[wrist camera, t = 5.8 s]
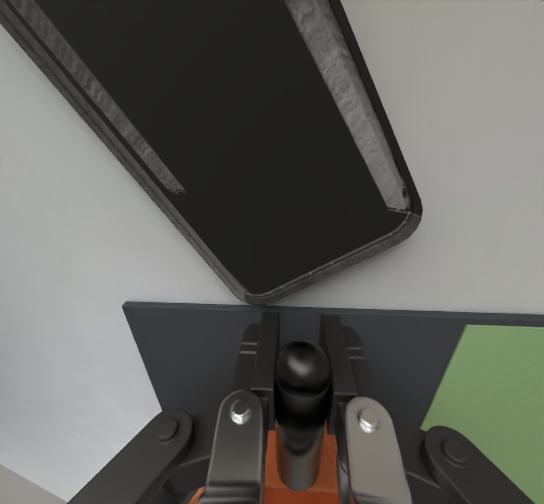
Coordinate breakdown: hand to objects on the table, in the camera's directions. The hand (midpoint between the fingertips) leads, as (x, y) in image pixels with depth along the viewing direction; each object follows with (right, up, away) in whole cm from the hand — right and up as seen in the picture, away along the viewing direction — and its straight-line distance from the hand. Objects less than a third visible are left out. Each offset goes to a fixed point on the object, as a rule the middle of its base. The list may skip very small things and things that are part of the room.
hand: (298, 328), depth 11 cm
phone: (-3, +9, -3) cm, 10 cm away
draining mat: (+6, -8, +6) cm, 12 cm away
